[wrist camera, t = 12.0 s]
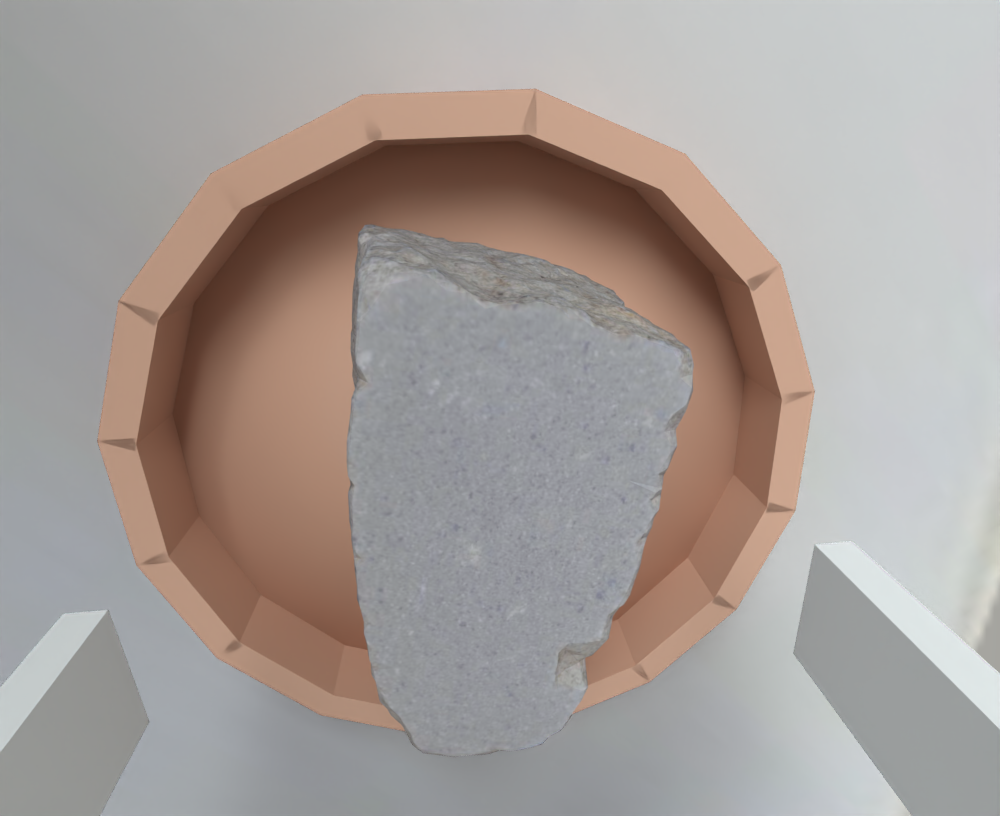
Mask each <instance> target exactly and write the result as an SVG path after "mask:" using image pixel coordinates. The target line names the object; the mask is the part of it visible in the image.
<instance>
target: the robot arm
mask: <svg viewBox="0 0 1000 816" xmlns="http://www.w3.org/2000/svg"><path fill="white" fill-rule="evenodd" d="M793 654H794V655H795V656H796V658H797V659H798V661H799V662H800V663H801V665H802V666H803V667H804V669H805V670H806V671H807V673H808V674H809V676H810V677H811V678H812V680H813V681H814V682H815V684H816V685H817V687H818V688H819V689H820V691H821V692H822V693H823V695H824V696H825V697H826V699H827V700H828V702H829V703H830V704H831V706H832V707H833V708H834V710H835V711H836V713H837V714H838V715H839V717H840V718H841V719H842V721H843V722H844V723H845V725H846V726H847V728H848V729H849V730H850V732H851V733H852V734H853V736H854V737H855V739H856V740H857V741H858V743H859V744H860V745H861V747H862V748H863V749H864V751H865V752H866V754H867V755H868V756H869V758H870V759H871V760H872V762H873V763H874V765H875V766H876V767H877V769H878V770H879V771H880V773H881V774H882V775H883V777H884V778H885V780H886V781H887V782H888V784H889V785H890V786H891V788H892V789H893V791H894V792H895V793H896V795H897V796H898V797H899V799H900V800H901V801H902V803H903V804H904V806H905V807H906V808H907V810H908V811H909V812H910V814H911V815H912V816H1000V673H999V672H997V671H996V670H995V669H994V668H993V667H992V666H991V665H990V664H989V663H987V662H986V661H985V660H984V659H983V658H982V657H981V656H980V655H979V654H977V653H976V652H975V651H974V650H973V649H972V648H971V647H970V646H969V645H967V644H966V643H965V642H964V641H963V640H962V639H961V638H960V637H959V636H957V635H956V634H955V633H954V632H953V631H952V630H951V629H950V628H949V627H947V626H946V625H945V624H944V623H943V622H942V621H941V620H940V619H939V618H937V617H936V616H935V615H934V614H933V613H932V612H931V611H930V610H929V609H927V608H926V607H925V606H924V605H923V604H922V603H921V602H920V601H919V600H917V599H916V598H915V597H914V596H913V595H912V594H911V593H910V592H909V591H907V590H906V589H905V588H904V587H903V586H902V585H901V584H900V583H899V582H897V581H896V580H895V579H894V578H893V577H892V576H891V575H890V574H889V573H887V572H886V571H885V570H884V569H883V568H882V567H881V566H880V565H879V564H877V563H876V562H875V561H874V560H873V559H872V558H871V557H870V556H869V555H867V554H866V553H865V552H864V551H863V550H862V549H861V548H860V547H858V546H857V545H856V544H855V543H854V542H853V541H847V542H836V543H825V544H815V546H814V551H813V556H812V561H811V566H810V571H809V576H808V581H807V586H806V591H805V597H804V602H803V607H802V612H801V617H800V622H799V627H798V632H797V637H796V642H795V647H794V652H793ZM148 723H149V719H148V717H147V714H146V711H145V708H144V706H143V703H142V700H141V698H140V695H139V692H138V689H137V687H136V684H135V681H134V678H133V676H132V673H131V670H130V668H129V665H128V662H127V659H126V657H125V654H124V651H123V649H122V646H121V643H120V640H119V638H118V635H117V632H116V629H115V627H114V624H113V621H112V619H111V616H110V613H109V610H98V611H88V612H77V613H66V614H62V616H61V617H60V618H59V619H58V620H57V621H56V623H55V624H54V625H53V626H52V627H51V628H50V630H49V631H48V632H47V633H46V634H45V635H44V637H43V638H42V639H41V640H40V641H39V643H38V644H37V645H36V646H35V647H34V648H33V650H32V651H31V652H30V653H29V654H28V655H27V657H26V658H25V659H24V660H23V661H22V663H21V664H20V665H19V666H18V667H17V668H16V670H15V671H14V672H13V673H12V674H11V675H10V677H9V678H8V679H7V680H6V681H5V683H4V684H3V685H2V686H1V687H0V816H100V814H101V813H102V811H103V809H104V807H105V805H106V803H107V801H108V799H109V797H110V795H111V794H112V792H113V790H114V788H115V786H116V784H117V782H118V780H119V778H120V776H121V775H122V773H123V771H124V769H125V767H126V765H127V763H128V761H129V759H130V758H131V756H132V754H133V752H134V750H135V748H136V746H137V744H138V742H139V740H140V739H141V737H142V735H143V733H144V731H145V729H146V727H147V725H148Z"/></svg>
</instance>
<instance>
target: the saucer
mask: <svg viewBox="0 0 1000 816" xmlns="http://www.w3.org/2000/svg"><path fill="white" fill-rule="evenodd" d="M370 224H372V225H376V226H380V227H384V228H391V229H404V230H409V231H414V232H417V233H422V234H425V235H428V236H431V237H434V238H445V239H446V240H448V241H453V242H469V243H479V244H481V245H484V246H486V247H489V248H493V249H497V250H501V251H505V252H513V253H520V254H525V255H529V256H533V257H537V258H540V259H544V260H547V261H548V262H550V263H551V264H555V265H559V266H563V267H566V268H568V269H571V270H574V271H575V272H576V273H578V274H581V275H585V276H587V277H588V278H590V279H591V280H592V281H594V282H597V283H599V284H601V285H603V286H605V287H607V288H609V289H611V290H614V292H615V293H616V295H617V296H618V297H619V298H620V299H621V300H622V301H623V302H624V304H625V307H627V308H630V309H632V310H633V311H635V312H636V313H638V314H639V315H640V316H642V317H644V318H646V319H648V320H649V321H650V322H652V323H653V324H654V325H656V326H658V327H660V328H662V329H664V330H666V331H668V332H669V333H671V334H673V335H674V336H675V337H676V339H677V340H679V341H680V342H681V343H683V344H684V345H686V346H687V347H689V348H690V351H691V355H692V359H693V363H694V368H693V392H692V395H691V398H690V401H689V404H688V407H687V410H686V412H685V414H684V416H683V417H682V419H681V421H680V423H679V425H678V426H677V428H676V438H677V447H676V450H675V452H674V454H673V457H672V459H671V462H670V464H669V467H668V469H667V471H666V472H665V474H664V477H663V485H662V492H661V498H660V506H659V511H658V512H657V514H656V515H655V517H654V520H653V525H652V528H651V530H650V532H649V534H648V536H647V539H646V542H645V545H644V549H643V554H642V559H641V565H640V568H639V570H638V573H637V576H636V579H635V581H634V584H633V587H632V590H631V593H630V596H629V597H628V599H627V600H626V602H625V604H624V605H623V606H621V607H620V608H619V609H618V610H617V611H616V613H615V614H614V615H613V619H612V624H611V629H610V634H609V639H608V640H607V641H606V642H605V643H604V644H603V645H602V646H601V647H600V648H599V649H598V650H597V651H596V652H595V653H594V654H593V655H591V656H589V657H586V658H585V662H586V672H587V682H588V688H587V690H586V692H585V694H584V696H583V698H582V700H581V702H580V703H579V704H578V706H577V707H576V709H575V710H574V712H573V713H572V714H574V713H576V712H578V711H581V710H583V709H586V708H588V707H590V706H593V705H595V704H598V703H600V702H603V701H605V700H607V699H610V698H612V697H615V696H617V695H619V694H622V693H624V692H627V691H629V690H631V689H634V688H636V687H639V686H641V685H643V684H646V683H648V682H650V681H651V680H653V679H654V678H655V677H656V676H657V675H659V674H660V673H661V672H662V671H663V670H665V669H666V668H667V667H668V666H669V665H671V664H672V663H673V662H674V661H675V660H676V659H678V658H679V657H680V656H681V655H682V654H684V653H685V652H686V651H687V650H688V649H690V648H691V647H692V646H693V645H694V644H696V643H697V642H698V641H699V640H700V639H702V638H703V637H704V636H705V635H706V634H708V633H709V632H710V631H711V630H712V629H714V628H715V627H716V626H717V625H718V624H719V623H721V622H722V621H723V620H724V619H725V618H727V617H728V616H729V615H730V614H731V613H733V612H734V611H735V610H736V609H737V607H738V606H739V604H740V602H741V601H742V599H743V597H744V596H745V594H746V592H747V591H748V589H749V587H750V586H751V584H752V582H753V581H754V579H755V577H756V576H757V574H758V572H759V571H760V569H761V567H762V566H763V564H764V562H765V561H766V559H767V557H768V556H769V554H770V552H771V551H772V549H773V547H774V545H775V544H776V542H777V540H778V539H779V537H780V535H781V534H782V532H783V530H784V529H785V527H786V525H787V524H788V522H789V520H790V519H791V517H792V515H793V514H794V512H795V510H796V504H797V497H798V491H799V485H800V479H801V473H802V467H803V460H804V454H805V448H806V442H807V436H808V430H809V423H810V417H811V411H812V405H813V399H814V393H815V391H814V387H813V383H812V379H811V376H810V372H809V368H808V365H807V361H806V357H805V353H804V350H803V346H802V342H801V338H800V335H799V331H798V327H797V324H796V320H795V316H794V312H793V309H792V305H791V301H790V297H789V294H788V290H787V286H786V282H785V279H784V275H783V271H782V268H781V264H780V263H779V262H778V261H777V260H776V259H775V258H774V256H773V255H772V254H771V253H770V252H769V251H768V249H767V248H766V247H765V246H764V245H763V244H762V242H761V241H760V240H759V239H758V238H757V237H756V236H755V234H754V233H753V232H752V231H751V230H750V229H749V227H748V226H747V225H746V224H745V223H744V222H743V220H742V219H741V218H740V217H739V216H738V215H737V213H736V212H735V211H734V210H733V209H732V208H731V206H730V205H729V204H728V203H727V202H726V201H725V199H724V198H723V197H722V196H721V195H720V194H719V193H718V191H717V190H716V189H715V188H714V187H713V186H712V184H711V183H710V182H709V181H708V180H707V179H706V177H705V176H704V175H703V174H702V173H701V172H700V170H699V169H698V168H697V167H696V166H695V165H694V163H693V162H692V161H691V160H690V159H689V158H688V156H687V155H686V154H684V153H682V152H680V151H677V150H675V149H673V148H671V147H668V146H666V145H664V144H661V143H659V142H657V141H654V140H652V139H650V138H647V137H645V136H643V135H641V134H638V133H636V132H634V131H631V130H629V129H627V128H624V127H622V126H620V125H618V124H615V123H613V122H611V121H608V120H606V119H604V118H601V117H599V116H597V115H595V114H592V113H590V112H588V111H585V110H583V109H581V108H578V107H576V106H574V105H572V104H569V103H567V102H565V101H562V100H560V99H558V98H555V97H553V96H551V95H549V94H546V93H544V92H542V91H539V90H537V89H518V90H488V91H457V92H427V93H397V94H367V95H361V96H359V97H357V98H355V99H353V100H351V101H349V102H347V103H345V104H343V105H341V106H340V107H338V108H336V109H334V110H332V111H330V112H328V113H326V114H324V115H322V116H320V117H318V118H316V119H315V120H313V121H311V122H309V123H307V124H305V125H303V126H301V127H299V128H297V129H295V130H293V131H291V132H290V133H288V134H286V135H284V136H282V137H280V138H278V139H276V140H274V141H272V142H270V143H268V144H267V145H265V146H263V147H261V148H259V149H257V150H255V151H253V152H251V153H249V154H247V155H245V156H243V157H242V158H240V159H238V160H236V161H234V162H232V163H230V164H228V165H226V166H224V167H222V168H220V169H219V170H217V171H215V172H213V173H211V174H210V175H209V177H208V178H207V180H206V181H205V182H204V184H203V185H202V186H201V188H200V189H199V191H198V192H197V193H196V195H195V196H194V197H193V199H192V200H191V202H190V203H189V204H188V206H187V207H186V209H185V210H184V211H183V213H182V214H181V215H180V217H179V218H178V220H177V221H176V222H175V224H174V225H173V226H172V228H171V229H170V231H169V232H168V233H167V235H166V236H165V238H164V239H163V240H162V242H161V243H160V244H159V246H158V247H157V249H156V250H155V251H154V253H153V254H152V255H151V257H150V258H149V260H148V261H147V262H146V264H145V265H144V267H143V268H142V269H141V271H140V272H139V273H138V275H137V276H136V278H135V279H134V280H133V282H132V283H131V284H130V286H129V287H128V289H127V290H126V291H125V293H124V294H123V296H122V297H121V298H120V300H119V302H118V308H117V315H116V321H115V328H114V334H113V341H112V348H111V354H110V361H109V367H108V374H107V380H106V387H105V394H104V400H103V407H102V413H101V420H100V426H99V433H98V440H97V442H98V445H99V448H100V451H101V454H102V458H103V461H104V464H105V467H106V470H107V473H108V477H109V480H110V483H111V486H112V489H113V492H114V496H115V499H116V502H117V505H118V508H119V511H120V515H121V518H122V521H123V524H124V527H125V530H126V534H127V537H128V540H129V543H130V546H131V549H132V553H133V556H134V559H135V562H136V565H137V566H138V568H139V569H140V570H141V571H142V572H143V573H144V574H145V576H146V577H147V578H148V579H149V580H150V581H151V583H152V584H153V585H154V586H155V587H156V588H157V590H158V591H159V592H160V593H161V594H162V595H163V596H164V598H165V599H166V600H167V601H168V602H169V603H170V605H171V606H172V607H173V608H174V609H175V610H176V611H177V613H178V614H179V615H180V616H181V617H182V618H183V620H184V621H185V622H186V623H187V624H188V625H189V626H190V628H191V629H192V630H193V631H194V632H195V633H196V635H197V636H198V637H199V638H200V639H201V640H202V641H203V643H204V644H205V645H206V646H207V647H208V648H209V650H210V651H211V652H212V653H213V654H214V655H215V656H216V658H218V659H219V660H221V661H223V662H225V663H227V664H229V665H230V666H232V667H234V668H236V669H238V670H239V671H241V672H243V673H245V674H247V675H249V676H250V677H252V678H254V679H256V680H258V681H259V682H261V683H263V684H265V685H267V686H269V687H270V688H272V689H274V690H276V691H278V692H279V693H281V694H283V695H285V696H287V697H289V698H290V699H292V700H294V701H296V702H298V703H299V704H301V705H303V706H305V707H307V708H309V709H310V710H312V711H314V712H316V713H318V714H319V715H323V716H328V717H333V718H338V719H344V720H349V721H354V722H359V723H365V724H370V725H375V726H380V727H386V728H391V729H396V730H401V731H405V730H404V728H403V726H402V725H401V724H400V723H399V722H398V721H397V720H396V719H394V718H393V717H392V716H391V715H390V713H389V711H388V709H387V708H386V707H385V706H384V705H383V704H382V703H381V702H380V700H379V696H378V691H377V686H376V682H375V680H374V678H373V676H372V674H371V662H370V660H369V655H368V649H367V643H366V639H365V636H364V620H363V617H362V613H361V609H360V606H359V603H358V601H357V583H356V576H355V566H354V554H353V548H352V541H351V528H350V522H349V504H348V491H349V488H350V480H349V477H348V472H347V436H348V428H349V420H350V413H351V398H352V396H353V393H354V390H355V387H354V382H353V377H352V371H353V363H352V357H351V350H350V349H351V331H352V294H353V284H354V278H355V263H356V258H357V253H358V248H357V244H358V233H359V232H360V231H361V229H362V228H363V227H364V226H365V225H370Z"/></svg>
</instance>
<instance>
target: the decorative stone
mask: <svg viewBox="0 0 1000 816" xmlns="http://www.w3.org/2000/svg"><path fill="white" fill-rule="evenodd" d="M357 248H358V253H357V258H356V263H355V278H354V284H353V294H352V331H351V349H350V350H351V357H352V363H353V371H352V377H353V382H354V387H355V390H354V393H353V396H352V398H351V413H350V420H349V428H348V436H347V472H348V477H349V480H350V488H349V491H348V504H349V522H350V528H351V541H352V548H353V554H354V566H355V576H356V583H357V601H358V603H359V606H360V609H361V613H362V617H363V620H364V636H365V639H366V643H367V649H368V655H369V660H370V662H371V674H372V676H373V678H374V680H375V682H376V686H377V691H378V696H379V700H380V702H381V703H382V704H383V705H384V706H385V707H386V708H387V709H388V711H389V713H390V715H391V716H392V717H393V718H394V719H396V720H397V721H398V722H399V723H400V724H401V725H402V726H403V728H404V730H405V732H406V733H407V735H408V737H409V739H410V741H411V743H412V745H413V746H415V747H416V748H417V749H418V750H420V751H421V752H423V753H427V754H435V755H444V756H450V757H458V756H466V755H482V754H490V753H493V752H496V751H499V750H501V751H517V750H522V749H526V748H531V747H533V746H537V745H541V744H543V743H544V742H545V740H546V739H547V738H548V737H550V736H551V735H553V734H555V733H557V732H558V731H560V730H561V729H562V728H563V727H564V726H565V725H566V723H567V722H568V720H569V719H570V717H571V715H572V713H573V712H574V710H575V709H576V707H577V706H578V704H579V703H580V702H581V700H582V698H583V696H584V694H585V692H586V690H587V688H588V682H587V672H586V662H585V658H586V657H589V656H591V655H593V654H594V653H595V652H596V651H597V650H598V649H599V648H600V647H601V646H602V645H603V644H604V643H605V642H606V641H607V640H608V639H609V634H610V629H611V624H612V619H613V615H614V614H615V613H616V611H617V610H618V609H619V608H620V607H621V606H623V605H624V604H625V602H626V600H627V599H628V597H629V596H630V593H631V590H632V587H633V584H634V581H635V579H636V576H637V573H638V570H639V568H640V565H641V559H642V554H643V549H644V545H645V542H646V539H647V536H648V534H649V532H650V530H651V528H652V525H653V520H654V517H655V515H656V514H657V512H658V511H659V506H660V498H661V492H662V485H663V477H664V474H665V472H666V471H667V469H668V467H669V464H670V462H671V459H672V457H673V454H674V452H675V450H676V447H677V438H676V428H677V426H678V425H679V423H680V421H681V419H682V417H683V416H684V414H685V412H686V410H687V407H688V404H689V401H690V398H691V395H692V392H693V368H694V363H693V359H692V355H691V351H690V348H689V347H687V346H686V345H684V344H683V343H681V342H680V341H679V340H677V339H676V337H675V336H674V335H673V334H671V333H669V332H668V331H666V330H664V329H662V328H660V327H658V326H656V325H654V324H653V323H652V322H650V321H649V320H648V319H646V318H644V317H642V316H640V315H639V314H638V313H636V312H635V311H633V310H632V309H630V308H627V307H625V304H624V302H623V301H622V300H621V299H620V298H619V297H618V296H617V295H616V293H615V292H614V290H611V289H609V288H607V287H605V286H603V285H601V284H599V283H597V282H594V281H592V280H591V279H590V278H588V277H587V276H585V275H581V274H578V273H576V272H575V271H574V270H571V269H568V268H566V267H563V266H559V265H555V264H551V263H550V262H548V261H547V260H544V259H540V258H537V257H533V256H529V255H525V254H520V253H513V252H505V251H501V250H497V249H493V248H489V247H486V246H484V245H481V244H479V243H469V242H453V241H448V240H446V239H445V238H434V237H431V236H428V235H425V234H422V233H417V232H414V231H409V230H404V229H391V228H384V227H380V226H376V225H372V224H370V225H365V226H364V227H363V228H362V229H361V231H360V232H359V233H358V244H357Z"/></svg>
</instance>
